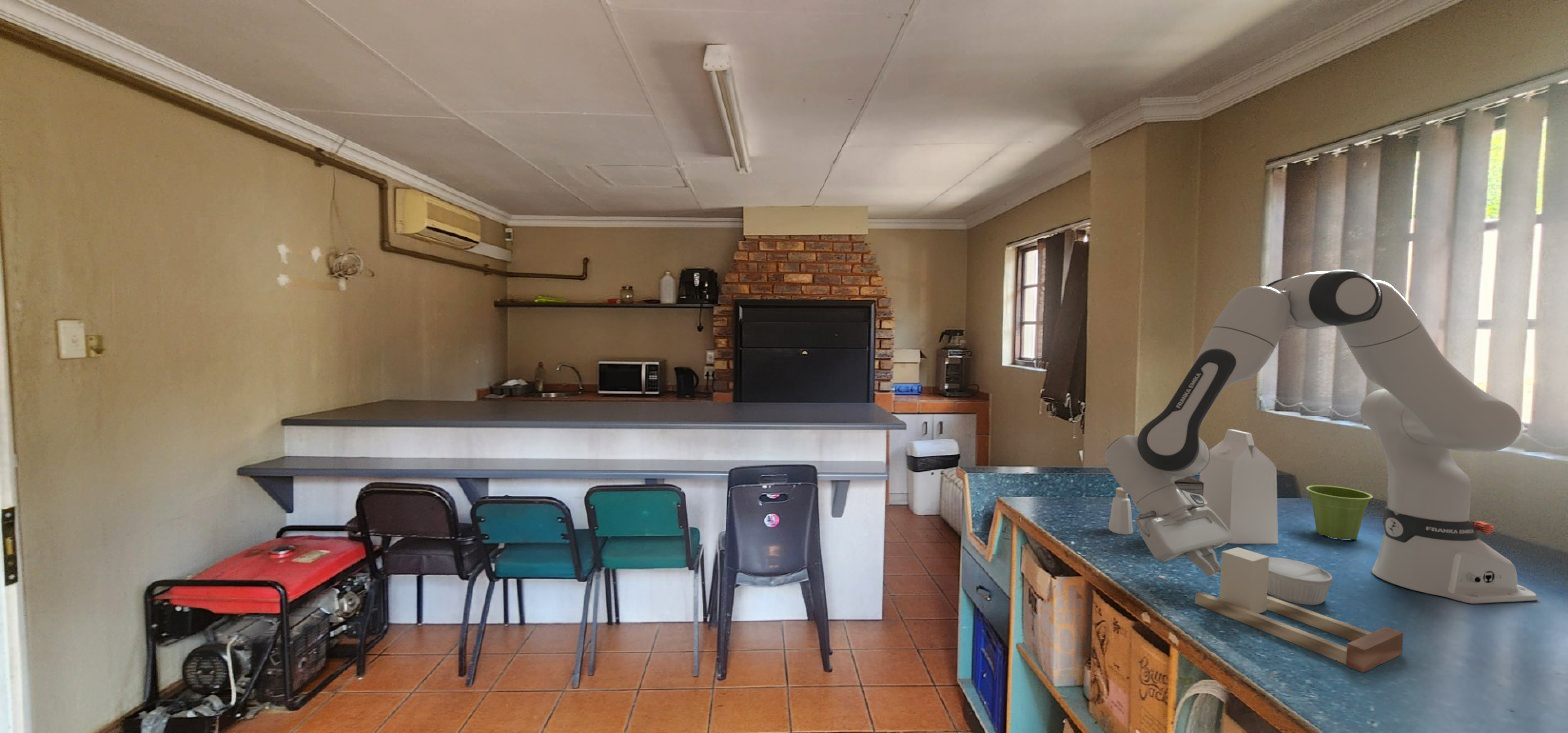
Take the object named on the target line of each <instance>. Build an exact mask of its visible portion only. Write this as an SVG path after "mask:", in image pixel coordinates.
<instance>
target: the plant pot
mask: <svg viewBox="0 0 1568 733" xmlns="http://www.w3.org/2000/svg"><path fill="white" fill-rule="evenodd" d="M1305 489H1306V491H1308V493H1309V498H1310V500H1311V505H1312V510H1313V511H1312V512H1313V516H1314V517H1313V518H1314V523H1315V530H1316V533H1317V532H1318V533H1319V534H1318V533H1317V534H1318V535H1320V534H1321V535H1325V537H1327V536H1329V537H1332V538H1337V539H1356V540H1357V539H1358V535H1359V532H1360V529H1361V526H1362V522H1363V519H1364V515H1365V512H1366V508H1367V507H1368V505H1369V501H1370V500H1371V499H1373V498H1374V497H1373V495H1372V494H1371V493H1368V492H1366V491H1361V490H1358V489H1353V488H1347V487H1342V486H1334V485H1323V484H1322V485H1321V484H1320V485H1319V484H1317V485H1307V486H1306V488H1305ZM1321 535H1320V536H1321ZM1329 537H1328V538H1329ZM1332 538H1331V539H1332Z"/></svg>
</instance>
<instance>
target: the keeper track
mask: <svg viewBox="0 0 1568 733" xmlns="http://www.w3.org/2000/svg"><path fill="white" fill-rule="evenodd" d="M1194 599H1195V600H1194V601H1195V602H1194V604H1195V605H1198V606H1200V607H1203V608H1206V609H1208V610H1210V611H1213V612H1215V613H1218V614H1219V615H1223V616H1225V617H1227V618H1230V619H1233V620H1235V621H1238V622H1240V623H1243V624H1244V625H1247V626H1250V627H1253V628H1255V629H1257V630H1260V631H1262V632H1264V633H1267V634H1269V635H1272V636H1275V637H1278V638H1280V639H1282V640H1285V641H1287V642H1290V643H1293V644H1294V645H1297V646H1300V647H1302V648H1305V649H1307V650H1308V651H1309V650H1310V651H1312V652H1314V653H1318V654H1319V655H1322V656H1325V657H1327V658H1329V659H1332V660H1334V661H1336V660H1337V661H1336V662H1339V663H1342V664H1344V665H1345V666H1346V667H1348V668H1351V669H1353V670H1356V671H1358V672H1360V673H1362V674H1363V673H1366V672H1368V671H1371V670H1372V669H1374V668H1376V666H1377V667H1379V666H1380V664H1381V665H1382V664H1385V663H1387V662H1389V661H1390V660H1393V659H1395V658H1397V657H1400V656H1401V655H1403V640H1404V632H1402V631H1399V630H1396V629H1394V628H1390V627H1388V626H1385V627H1382V628H1380V629H1377V630H1375V631H1373V632H1372V631H1369V630H1366V629H1364V628H1361V627H1358V626H1355V625H1352V624H1350V623H1346V622H1344V621H1340V620H1338V619H1335V618H1332V617H1329V616H1326V615H1324V614H1321V613H1319V612H1316V611H1313V610H1311V609H1307V608H1304V607H1301V606H1298V605H1296V604H1294V603H1291V602H1288V601H1285V600H1281V599H1279V598H1276V597H1273V596H1271V595H1269V594H1267V610H1268V611H1271V612H1273V613H1275V614H1279V615H1282V616H1285V617H1287V618H1290V619H1292V620H1293V621H1294V620H1295V621H1297V622H1301V623H1303V624H1306V625H1308V626H1311V627H1313V628H1317V629H1318V630H1319V629H1320V630H1322V631H1324V632H1327V633H1330V634H1332V635H1335V636H1337V637H1341V638H1343V637H1344V638H1343V639H1345V638H1346V640H1347V641H1348V640H1349V641H1350V642H1347V644H1346V646H1344V645H1341V644H1339V643H1335V642H1334V641H1330V640H1328V639H1326V638H1323V637H1320V636H1317V635H1316V634H1313V633H1309V632H1307V631H1305V630H1302V629H1299V628H1297V627H1294V626H1292V625H1289V624H1286V623H1283V622H1281V621H1279V620H1276V619H1273V618H1271V617H1268V616H1265V615H1263V614H1262V613H1259V614H1258V613H1255V612H1253V611H1250V610H1247V609H1245V608H1242V607H1240V606H1237V605H1234V604H1232V603H1229V602H1227V601H1224V600H1221V599H1220V597H1219V598H1218V597H1216V596H1213V595H1211V594H1208V593H1205V592H1202V591H1198V592H1195V597H1194ZM1378 665H1379V666H1378Z"/></svg>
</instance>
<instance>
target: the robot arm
mask: <svg viewBox="0 0 1568 733" xmlns="http://www.w3.org/2000/svg"><path fill="white" fill-rule="evenodd" d="M1333 326H1334V327H1336V328H1337V329H1338V330H1339V332H1340V334H1341V336H1342V338H1343V340H1344V341H1345V343H1346V346H1348V349H1349V350H1350V351H1351V354H1352V355H1353V357H1354V359H1355V360H1356V362H1357V364H1358V366H1359V367H1360V369H1361V371H1362V372H1363V374H1364V376H1365V377H1366V378H1368V380H1369V381H1371V382H1372V383H1374V384H1376V385H1378V386H1380V387H1381V388H1380V389H1377V390H1374V391H1371V393H1369V394H1368V395H1367V396H1366V397H1365V398H1364V399H1363V401H1362V402H1361V405H1360V410H1359V411H1360V417H1361V419H1362V421H1363V423H1364V425H1366V426H1367V427H1368V428H1369V429H1370V430H1371V431H1372V433H1373V434H1374V435H1375V437H1376V439H1377V440H1378V443H1379V445H1380V448H1381V450H1382V453H1383V457H1384V458H1385V462H1386V467H1387V468H1386V469H1387V502H1386V504H1387V505H1386V506H1384V509H1383V514H1382V515H1383V517H1382V518H1383V519H1382V524H1383V530H1384V532H1383V536H1382V539H1381V544H1380V548H1379V552H1378V555H1377V558H1376V561H1375V563H1374V565H1373V567H1372V569H1371V573H1372V574H1373V575H1374V576H1376V578H1377V577H1378V578H1380V579H1381V580H1383V581H1386V582H1388V583H1390V584H1393V585H1397V586H1399V587H1402V588H1406V589H1409V590H1412V591H1417V592H1422V593H1425V594H1429V595H1434V596H1440V597H1443V598H1444V597H1445V598H1447V599H1448V598H1449V599H1452V600H1455V601H1459V602H1463V603H1467V604H1488V603H1506V602H1508V603H1511V602H1525V601H1526V602H1527V601H1530V602H1531V601H1537V600H1538V598H1537V594H1536V593H1535V592H1534V591H1532V590H1531V589H1529V588H1526V587H1525V586H1522V585H1520V584H1518V574H1517V570H1516V567H1515V565H1514V564H1513V562H1512V561H1511V560H1510V559H1508V558H1507V557H1505V556H1504V555H1502V553H1499V552H1498V551H1497V550H1495V549H1493V547H1491V546H1490V545H1488V544H1487V543H1485V541H1482V540H1481V539H1480V537H1479V533H1478V532H1482V533H1483V534H1486V535H1491V534H1493V532H1495V526H1494V525H1493V524H1492V523H1489V522H1485V521H1483V520H1482V521H1481V520H1477V521H1473V520H1472V519H1470V515H1471V514H1470V513H1471V501H1472V500H1471V498H1472V487H1473V486H1472V482H1471V481H1472V480H1471V479H1470V477H1469V475H1468V474H1467V473H1465V471H1463V470H1462V469H1461V468H1460V466H1458V465H1457V463H1456V462H1455V460H1454V459H1453V456H1452V454H1451V452H1450V450H1452V451H1456V452H1457V451H1458V452H1479V453H1481V452H1483V453H1485V452H1486V453H1487V452H1497V451H1501V450H1503V449H1507V448H1508V447H1510V446H1511V445H1512V444H1513V443H1514V442H1515V441H1516V440H1517V438H1518V437H1519V436H1520V432H1521V430H1522V422H1521V416H1520V415H1519V413H1518V412H1517V410H1516V409H1515V408H1514V407H1513V406H1512V405H1510V404H1508V403H1507V402H1505V401H1502V400H1499V399H1498V398H1497V397H1494V396H1492V395H1490V394H1489V393H1487V392H1486V391H1484V390H1483V389H1481V388H1479V386H1477V385H1476V384H1475V383H1473V382H1472V381H1471V380H1470V379H1468V377H1466V376H1465V375H1463V373H1461V372H1460V371H1459V370H1458V369H1457V368H1456V367H1455V366H1454V365H1452V363H1451V362H1450V361H1449V360H1447V358H1445V356H1444V355H1443V354H1442V352H1441V351H1440V350H1439V348H1438V347H1437V345H1436V343H1435V342H1434V340H1433V339H1432V337H1431V335H1430V334H1429V332H1428V331H1427V329H1426V327H1425V326H1424V324H1423V323H1422V321H1421V319H1420V318H1419V316H1418V314H1417V313H1416V312H1415V310H1414V309H1413V308H1412V306H1411V305H1410V303H1408V301H1407V300H1406V298H1404V296H1402V295H1401V293H1400V292H1399V291H1398V290H1397V289H1396V288H1394V286H1392V285H1391V284H1390V283H1388V282H1386V281H1383V280H1379V279H1378V280H1376V279H1373V278H1371V277H1370V276H1369V275H1367V274H1365V273H1363V272H1361V271H1358V270H1357V271H1356V270H1352V269H1334V270H1329V271H1314V272H1313V271H1312V272H1306V273H1302V274H1300V275H1296V276H1291V277H1288V278H1287V277H1286V278H1284V277H1283V278H1281V279H1280V278H1279V279H1277V280H1274V281H1272V282H1270V283H1268V284H1267V285H1266V284H1265V285H1263V286H1262V285H1253V286H1248V287H1245V288H1242V289H1240V290H1239V291H1238V292H1237V293H1236V294H1234V296H1233V297H1232V298H1231V299H1230V300H1229V302H1228V303H1227V304H1226V305H1225V307H1224V308H1223V309H1222V310H1221V313H1220V314H1219V315H1218V316H1217V318H1216V319H1215V321H1214V322H1213V325H1212V326H1211V328H1210V330H1209V332H1208V333H1207V335H1206V338H1205V340H1204V342H1203V343H1202V346H1201V347H1200V350H1199V353H1198V355H1197V357H1196V359H1195V360H1194V363H1193V365H1192V367H1191V368H1190V369H1189V370H1188V373H1187V374H1186V376H1185V377H1184V379H1183V380H1182V383H1181V384H1180V385H1179V387H1178V389H1177V390H1176V392H1175V393H1174V395H1173V397H1172V398H1171V400H1170V401H1169V403H1168V404H1167V406H1166V407H1165V409H1163V411H1162V412H1160V414H1159V415H1157V416H1156V417H1154V418H1153V419H1152V420H1150V421H1149V422H1147V423H1146V424H1145V425H1144V426H1143V427H1142V428H1141V430H1140V432H1139V434H1138V435H1132V434H1126V435H1122V436H1121V437H1119V438H1117V439H1115V440H1114V441H1113V442H1112V443H1111V444H1109V446H1108V447H1107V448H1106V451H1105V452H1104V461H1105V464H1106V466H1107V468H1108V470H1109V472H1110V474H1111V475H1112V476H1113V478H1114V479H1115V480H1116V482H1117V483H1118V484H1119V486H1120V487H1121V488H1122V489H1123V490H1125V491H1126V492H1127V493H1128V496H1130V498H1131V500H1132V503H1133V505H1134V507H1135V508H1136V509H1137V511H1138V512H1139V514H1137V515H1136V518H1135V524H1136V525H1137V528H1138V529H1139V530H1138V531H1139V533H1140V536H1141V538H1142V539H1143V541H1144V543H1145V545H1146V546H1147V548H1148V549H1149V551H1150V552H1151V554H1152V556H1153V557H1154V559H1157V560H1158V561H1159V562H1160V563H1164V562H1167V561H1171V560H1174V559H1175V560H1176V559H1179V558H1182V557H1187V559H1188V560H1189V562H1191V563H1192V564H1193V565H1195V566H1197V567H1198V568H1199V569H1201V571H1202V572H1203V573H1204V574H1205V576H1207V577H1211V576H1215V575H1217V574H1221V564H1220V563H1219V562H1218V559H1217V558H1218V557H1217V554H1216V552H1215V550H1214V549H1217V548H1220V547H1221V548H1222V547H1224V546H1225V545H1227V544H1229V543H1228V542H1230V541H1232V535H1231V532H1230V531H1229V529H1228V528H1227V527H1226V525H1225V524H1224V523H1223V522H1222V520H1221V519H1220V518H1219V517H1218V516H1217V514H1216V513H1215V512H1214V511H1213V510H1212V509H1210V508H1209V507H1206V506H1205V505H1207V504H1208V503H1207V501H1206V499H1205V498H1204V497H1203V496H1201V495H1198V494H1193V493H1189V492H1186V491H1183V490H1180V489H1179V488H1178V487H1177V485H1176V484H1175V483H1174V482H1175V481H1177V480H1181V479H1184V478H1187V477H1190V476H1193V477H1194V476H1196V475H1197V474H1200V472H1201V471H1202V470H1204V469H1205V468H1206V466H1207V465H1208V463H1209V459H1210V452H1209V450H1210V449H1209V446H1208V444H1206V442H1205V441H1204V440H1203V439H1202V438H1201V437H1200V430H1201V426H1202V424H1203V422H1204V421H1205V419H1206V418H1207V416H1208V414H1209V413H1210V412H1211V410H1212V408H1213V407H1214V405H1215V404H1216V401H1217V400H1218V398H1219V397H1220V395H1221V394H1222V392H1223V391H1224V390H1225V389H1226V388H1227V387H1229V386H1231V385H1233V384H1236V383H1239V382H1240V383H1241V382H1244V381H1248V380H1250V379H1252V378H1254V377H1255V376H1256V375H1257V374H1258V373H1259V372H1260V371H1261V370H1262V368H1263V367H1264V366H1265V365H1266V364H1267V363H1268V360H1269V359H1270V358H1271V356H1272V354H1273V353H1274V350H1275V348H1276V347H1277V345H1278V343H1279V341H1280V339H1281V337H1282V335H1283V334H1284V332H1285V331H1286V330H1289V329H1301V330H1303V329H1304V330H1305V329H1306V330H1313V329H1318V328H1326V327H1333Z"/></svg>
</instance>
